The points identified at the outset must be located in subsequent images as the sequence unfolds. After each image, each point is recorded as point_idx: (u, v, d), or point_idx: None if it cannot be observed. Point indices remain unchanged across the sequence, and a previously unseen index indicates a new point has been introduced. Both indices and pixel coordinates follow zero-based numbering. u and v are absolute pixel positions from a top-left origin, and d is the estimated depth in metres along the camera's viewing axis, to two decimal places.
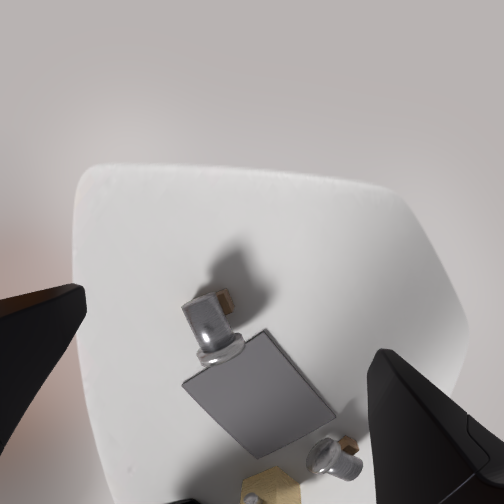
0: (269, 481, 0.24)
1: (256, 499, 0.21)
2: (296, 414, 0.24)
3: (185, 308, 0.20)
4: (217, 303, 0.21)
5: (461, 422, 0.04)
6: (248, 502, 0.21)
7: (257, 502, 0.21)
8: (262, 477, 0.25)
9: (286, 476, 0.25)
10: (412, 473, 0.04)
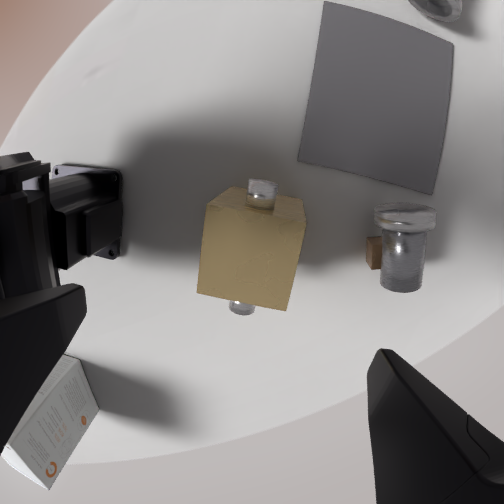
0: (288, 202, 0.17)
1: (275, 191, 0.14)
2: (406, 143, 0.16)
3: None
4: None
5: (461, 422, 0.04)
6: (261, 183, 0.14)
7: (272, 197, 0.14)
8: None
9: None
10: (412, 473, 0.04)
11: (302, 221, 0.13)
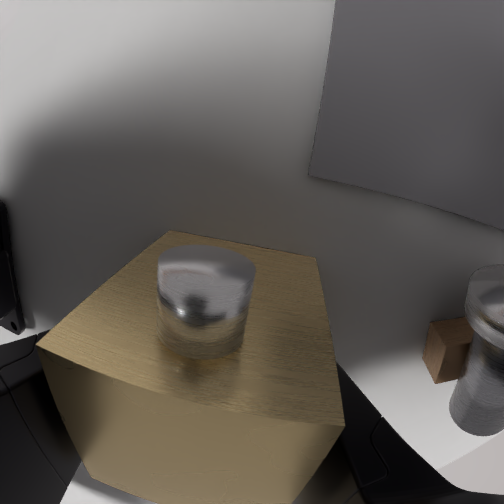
0: (287, 282, 0.07)
1: (244, 299, 0.04)
2: None
3: None
4: None
5: (367, 425, 0.04)
6: (190, 280, 0.04)
7: (231, 322, 0.04)
8: (254, 257, 0.08)
9: None
10: (313, 475, 0.05)
11: (330, 416, 0.03)
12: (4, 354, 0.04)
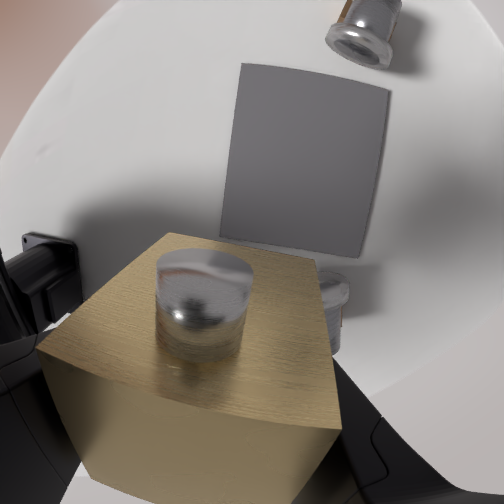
0: (286, 284, 0.07)
1: (242, 303, 0.04)
2: (328, 211, 0.18)
3: None
4: (398, 13, 0.11)
5: (367, 425, 0.04)
6: (188, 284, 0.04)
7: (229, 326, 0.04)
8: (253, 259, 0.08)
9: None
10: (313, 475, 0.05)
11: (327, 419, 0.03)
12: (4, 354, 0.04)
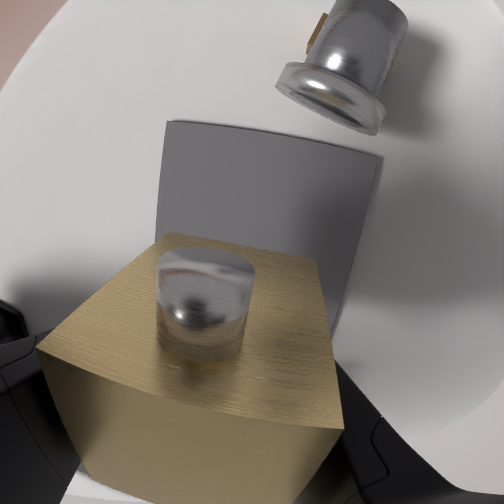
0: (286, 284, 0.07)
1: (243, 302, 0.04)
2: None
3: None
4: (401, 39, 0.07)
5: (367, 425, 0.04)
6: (189, 283, 0.04)
7: (231, 325, 0.04)
8: (254, 259, 0.08)
9: None
10: (313, 475, 0.05)
11: (329, 419, 0.03)
12: (4, 354, 0.04)
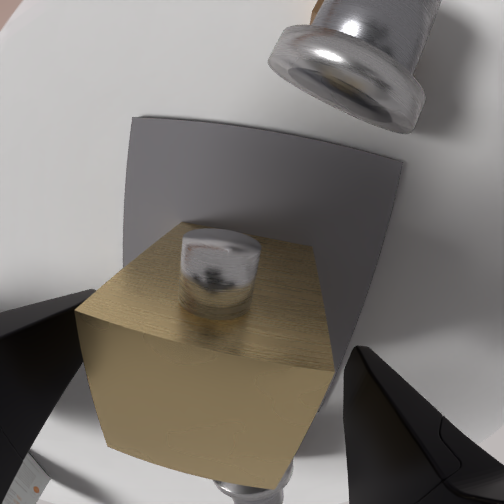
0: (287, 264, 0.08)
1: (252, 269, 0.05)
2: None
3: None
4: (437, 9, 0.05)
5: (434, 424, 0.04)
6: (210, 252, 0.05)
7: (242, 288, 0.05)
8: None
9: None
10: (382, 475, 0.04)
11: (323, 364, 0.05)
12: None
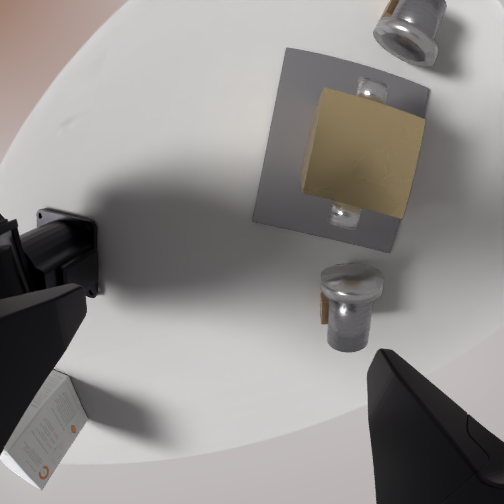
0: None
1: (387, 91, 0.11)
2: None
3: None
4: None
5: (461, 422, 0.04)
6: (375, 79, 0.11)
7: (385, 96, 0.11)
8: None
9: None
10: (412, 473, 0.04)
11: (420, 118, 0.10)
12: None
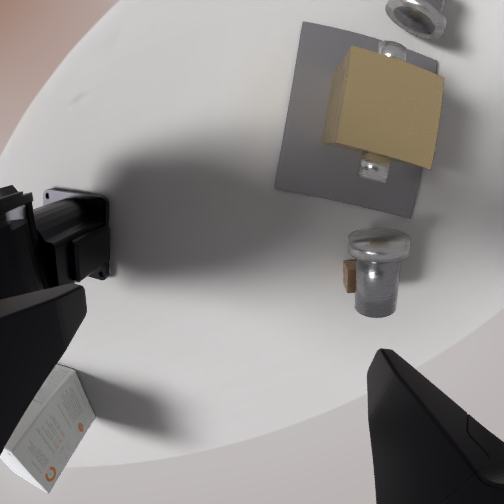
0: None
1: (405, 54, 0.11)
2: None
3: None
4: None
5: (461, 422, 0.04)
6: (395, 43, 0.10)
7: (404, 58, 0.11)
8: None
9: None
10: (412, 473, 0.04)
11: (439, 76, 0.10)
12: None
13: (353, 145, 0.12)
